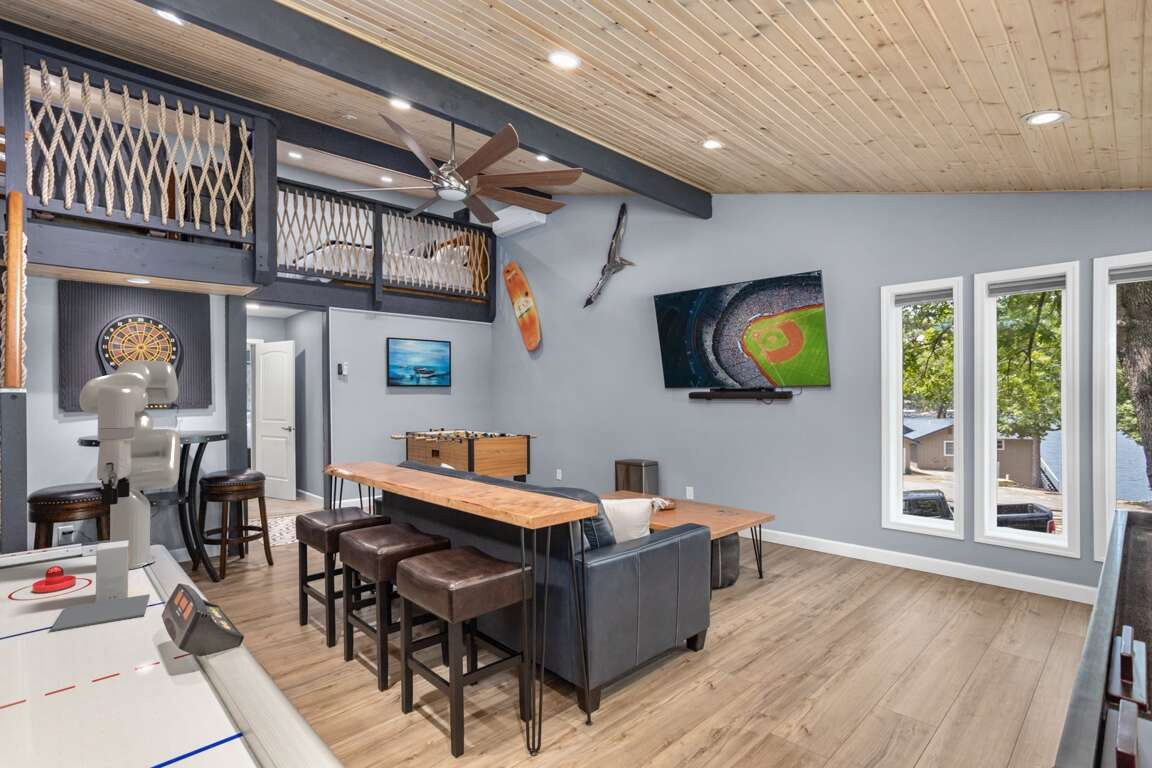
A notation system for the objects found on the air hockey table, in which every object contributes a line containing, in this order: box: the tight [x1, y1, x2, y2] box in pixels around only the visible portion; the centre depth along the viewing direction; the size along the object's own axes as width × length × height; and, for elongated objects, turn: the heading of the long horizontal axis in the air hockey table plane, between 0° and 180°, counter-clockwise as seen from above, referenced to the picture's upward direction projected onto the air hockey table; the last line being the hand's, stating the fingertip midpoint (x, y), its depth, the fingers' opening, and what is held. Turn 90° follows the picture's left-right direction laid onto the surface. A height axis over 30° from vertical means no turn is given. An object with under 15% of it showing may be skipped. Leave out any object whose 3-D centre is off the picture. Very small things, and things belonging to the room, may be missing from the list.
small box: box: [95, 540, 129, 602], centre depth 146 cm, size 8×6×13 cm
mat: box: [50, 594, 151, 633], centre depth 135 cm, size 16×16×1 cm
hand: (115, 500), depth 150 cm, fingers open, 9 cm apart
